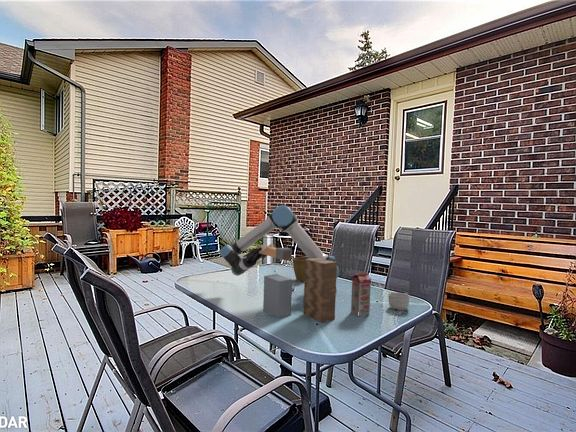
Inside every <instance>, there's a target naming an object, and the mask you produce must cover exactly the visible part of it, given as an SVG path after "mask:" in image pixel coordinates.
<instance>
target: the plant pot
mask: <svg viewBox="0 0 576 432" xmlns="http://www.w3.org/2000/svg"><path fill="white" fill-rule="evenodd" d="M305 259H309V258H308V257H307V256H306V257H304V256H297V257H296V256H295V257H292V259H291V260H292V267H293V271H294V276H295V278H296V281H297V282H304V283H305Z"/></svg>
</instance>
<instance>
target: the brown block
mask: <svg viewBox="0 0 576 432" xmlns="http://www.w3.org/2000/svg"><path fill="white" fill-rule="evenodd" d="M262 245H263V244H258V245H256V249H258V248H259V247H261V246H262ZM266 248H267V249H265V250H264V251H263V252H261V253H260V254H264V255H267V256H268V257H272V258H275V259H278V260H281V261H283V260H293V259H292V258H293V257H292V255H293V254H292V253H293V249H292V248H289V247H270V246H269V245H266ZM267 256H266V257H267Z"/></svg>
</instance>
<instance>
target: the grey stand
mask: <svg viewBox="0 0 576 432" xmlns="http://www.w3.org/2000/svg"><path fill="white" fill-rule="evenodd" d="M292 295H293V278H290V277H287V276H284V275H281V274H268V275H263V305H262V307H263V309H262V310H263V312H265V313H268V314H270V315H271V316H274V317H275V318H277V319H280V318H283V317H288V316H291V315H292V302H293V301H292V299H293V296H292Z"/></svg>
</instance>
